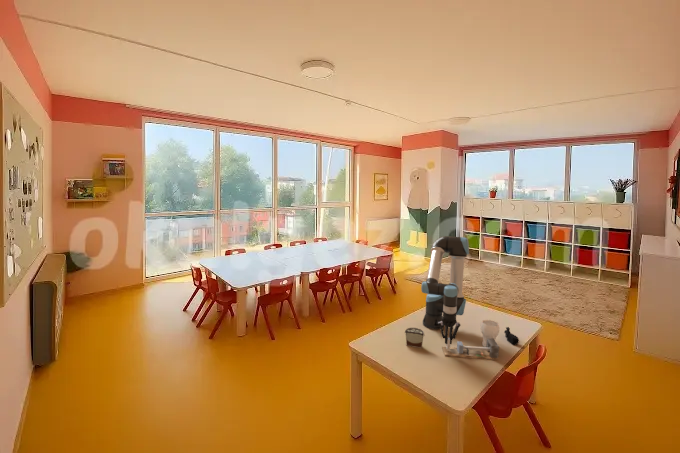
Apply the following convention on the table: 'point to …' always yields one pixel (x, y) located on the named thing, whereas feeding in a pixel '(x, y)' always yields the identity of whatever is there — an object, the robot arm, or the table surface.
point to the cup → (489, 330)
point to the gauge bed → (475, 351)
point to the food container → (414, 337)
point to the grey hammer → (469, 348)
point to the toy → (511, 337)
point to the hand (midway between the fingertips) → (447, 348)
